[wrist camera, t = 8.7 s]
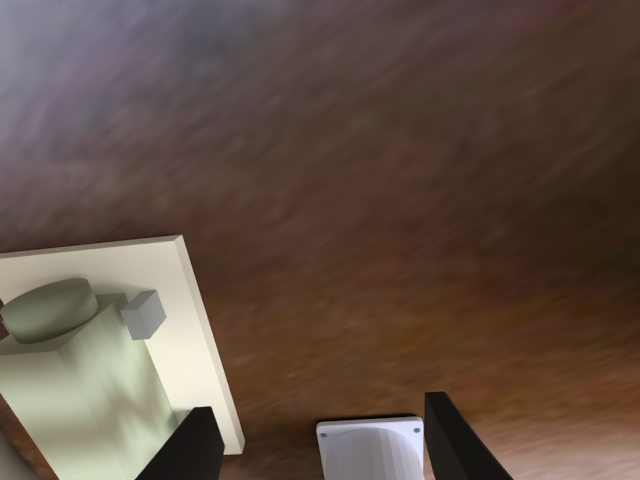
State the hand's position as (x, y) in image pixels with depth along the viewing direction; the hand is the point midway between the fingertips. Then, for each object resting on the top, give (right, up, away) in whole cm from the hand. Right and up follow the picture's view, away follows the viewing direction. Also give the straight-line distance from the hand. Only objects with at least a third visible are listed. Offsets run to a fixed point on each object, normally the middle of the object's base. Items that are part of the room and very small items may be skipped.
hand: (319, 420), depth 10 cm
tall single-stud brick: (-13, -3, +11) cm, 17 cm away
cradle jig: (-13, -3, +12) cm, 18 cm away
